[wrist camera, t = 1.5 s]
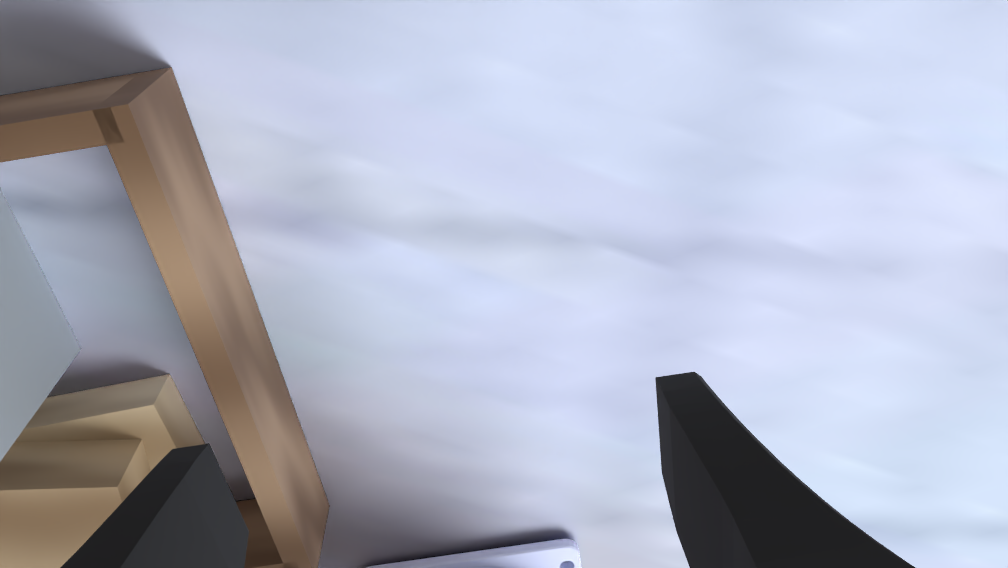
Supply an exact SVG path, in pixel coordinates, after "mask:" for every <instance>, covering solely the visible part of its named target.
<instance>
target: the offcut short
mask: <svg viewBox="0 0 1008 568" xmlns="http://www.w3.org/2000/svg"><path fill="white" fill-rule="evenodd" d="M150 471H151V470H150V467H149V463H148V459H147V456H146V452H145V449H144V445H143V441H142V439H131V440H88V441H45V442H14V443H13V445H12V446H11V447H10V449H9V450H8V452H7V453H6V454H5V456H4V457H3V459H2V460H1V461H0V568H60V567H61V566H62V565H63V564H64V563H65V562H66V561H67V560H68V559H69V558H70V557H71V556H72V555H73V554H74V553H75V552H76V551H77V550H78V549H79V548H80V547H81V546H82V545H83V544H84V543H85V542H86V541H87V540H88V539H89V538H90V536H91V535H92V534H93V533H94V532H95V531H96V530H97V529H98V528H99V527H100V526H101V525H102V524H103V522H104V521H105V520H106V519H107V518H108V517H109V516H110V515H111V514H112V513H113V512H114V511H115V510H116V508H117V507H118V506H119V505H120V504H121V503H122V502H123V501H124V500H125V499H126V498H127V496H128V495H129V494H130V493H131V492H132V491H133V490H134V489H135V488H136V487H137V485H138V484H139V483H140V482H141V481H142V480H143V479H144V478H145V477H146V476H147V475H148V473H149V472H150Z"/></svg>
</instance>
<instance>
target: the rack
mask: <svg viewBox="0 0 1008 568" xmlns="http://www.w3.org/2000/svg"><path fill="white" fill-rule="evenodd" d="M103 145H107V146H108V149H109V151H110V153H111V156H112V158H113V161H114V163H115V165H116V168H117V170H118V172H119V175H120V177H121V180H122V182H123V184H124V187H125V189H126V191H127V194H128V196H129V199H130V201H131V203H132V206H133V208H134V210H135V213H136V215H137V218H138V220H139V222H140V225H141V227H142V229H143V232H144V234H145V237H146V239H147V241H148V244H149V246H150V248H151V251H152V253H153V256H154V258H155V260H156V263H157V265H158V267H159V270H160V272H161V275H162V277H163V279H164V282H165V284H166V286H167V289H168V291H169V294H170V296H171V298H172V301H173V303H174V305H175V308H176V310H177V313H178V315H179V317H180V320H181V322H182V324H183V327H184V329H185V331H186V334H187V336H188V339H189V341H190V343H191V346H192V348H193V350H194V353H195V355H196V358H197V360H198V362H199V365H200V367H201V369H202V372H203V374H204V377H205V379H206V381H207V384H208V386H209V388H210V391H211V393H212V396H213V398H214V400H215V403H216V405H217V407H218V410H219V412H220V415H221V417H222V419H223V422H224V424H225V426H226V429H227V431H228V434H229V436H230V438H231V441H232V443H233V445H234V448H235V450H236V453H237V455H238V457H239V460H240V462H241V464H242V467H243V469H244V472H245V474H246V476H247V479H248V481H249V483H250V486H251V488H252V491H253V493H254V495H255V498H256V499H252V500H245V501H238V502H236V504H237V506H238V508H239V511H240V513H241V515H242V517H243V519H244V521H245V524H246V526H247V528H248V530H249V536H248V543H247V551H246V559H245V566H244V568H318V563H319V558H320V553H321V548H322V543H323V538H324V532H325V527H326V522H327V517H328V512H329V507H330V506H329V503H328V500H327V497H326V495H325V492H324V489H323V486H322V483H321V481H320V478H319V475H318V472H317V470H316V467H315V464H314V461H313V459H312V456H311V453H310V450H309V447H308V445H307V442H306V439H305V436H304V434H303V431H302V428H301V425H300V422H299V420H298V417H297V414H296V411H295V409H294V406H293V403H292V400H291V397H290V395H289V392H288V389H287V386H286V384H285V381H284V378H283V375H282V372H281V370H280V367H279V364H278V361H277V359H276V356H275V353H274V350H273V348H272V345H271V342H270V339H269V336H268V334H267V331H266V328H265V325H264V323H263V320H262V317H261V314H260V311H259V309H258V306H257V303H256V300H255V298H254V295H253V292H252V289H251V286H250V284H249V281H248V278H247V275H246V273H245V270H244V267H243V264H242V261H241V259H240V256H239V253H238V250H237V248H236V245H235V242H234V239H233V237H232V234H231V231H230V228H229V225H228V223H227V220H226V217H225V214H224V212H223V209H222V206H221V203H220V200H219V198H218V195H217V192H216V189H215V187H214V184H213V181H212V178H211V175H210V173H209V170H208V167H207V164H206V162H205V159H204V156H203V153H202V150H201V148H200V145H199V142H198V139H197V137H196V134H195V131H194V128H193V126H192V123H191V120H190V117H189V114H188V112H187V109H186V106H185V103H184V101H183V98H182V95H181V92H180V89H179V87H178V84H177V81H176V78H175V76H174V73H173V70H172V67H170V68H164V69H158V70H152V71H146V72H140V73H134V74H128V75H122V76H116V77H110V78H104V79H98V80H92V81H86V82H80V83H74V84H68V85H62V86H56V87H50V88H44V89H38V90H32V91H26V92H20V93H14V94H8V95H2V96H0V162H5V161H11V160H18V159H24V158H30V157H36V156H42V155H48V154H54V153H60V152H66V151H73V150H79V149H85V148H91V147H97V146H103Z"/></svg>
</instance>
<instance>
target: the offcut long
mask: <svg viewBox="0 0 1008 568" xmlns="http://www.w3.org/2000/svg"><path fill="white" fill-rule="evenodd" d="M131 439H142V441H143V445H144V449H145V452H146V456H147V459H148V463H149V467H150V470H152V469H153V468H154V467H155V466H156V465H157V464H158V463H159V462H160V461H161V460H162V459H163V458H164V457H165V456H166V455H167V454H168V453H169V452H170V451H171V450H172V449H175V448H182V447H189V446H196V445H202V444H205V443H204V441H203V439H202V437H201V435H200V433H199V431H198V429H197V427H196V425H195V423H194V421H193V419H192V417H191V415H190V413H189V411H188V409H187V407H186V405H185V403H184V401H183V399H182V397H181V395H180V393H179V391H178V390H177V388H176V386H175V384H174V382H173V380H172V378H171V376H170V374H167V375H162V376H156V377H151V378H146V379H141V380H136V381H130V382H125V383H120V384H115V385H110V386H104V387H99V388H94V389H89V390H84V391H78V392H73V393H68V394H63V395H57V396H52V397H47V398H46V399H45V400H44V402H43V403H42V404H41V406H40V407H39V409H38V410H37V411H36V413H35V414H34V416H33V417H32V418H31V420H30V421H29V422H28V424H27V425H26V427H25V428H24V429H23V431H22V432H21V434H20V435H19V436H18V438H17V439H16V441H15V442H45V441H88V440H131Z"/></svg>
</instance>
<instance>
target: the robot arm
mask: <svg viewBox="0 0 1008 568" xmlns="http://www.w3.org/2000/svg"><path fill="white" fill-rule="evenodd" d="M656 392H657V407H658V421H659V436H660V451H661V466H662V475H663V479H664V483H665V487H666V491H667V495H668V499H669V503H670V507H671V511H672V515H673V519H674V523H675V527H676V531H677V534H678V536H679V539H680V542H681V545H682V547H683V550H684V553H685V556H686V558H687V561H688V564H689V566H690V568H915V567H914V566H912V565H910V564H909V563H907V562H906V561H905V560H903V559H902V558H900V557H899V556H897V555H896V554H894V553H893V552H892V551H890V550H889V549H887V548H886V547H884V546H883V545H881V544H880V543H879V542H877V541H876V540H874V539H873V538H872V537H870V536H869V535H868V534H866V533H865V532H864V531H862V530H861V529H860V528H858V527H857V526H856V525H854V524H853V523H852V522H850V521H849V520H848V519H846V518H845V517H844V516H843V515H841V514H840V513H839V512H838V511H836V510H835V509H834V508H833V507H831V506H830V505H829V504H828V503H827V502H825V501H824V500H823V499H822V498H821V497H819V496H818V495H817V494H816V493H815V492H814V491H812V490H811V489H810V488H809V487H808V486H807V485H806V484H804V483H803V482H802V481H801V480H800V479H799V478H798V477H796V476H795V475H794V474H793V473H792V472H791V471H790V470H789V469H788V468H787V467H786V466H784V465H783V464H782V463H781V462H780V461H779V460H778V459H777V458H776V457H775V456H774V455H773V454H772V453H771V452H770V451H769V450H768V449H767V448H766V447H765V446H764V445H763V444H762V443H761V442H760V441H759V440H758V439H757V438H756V437H755V436H754V435H753V434H752V433H751V432H750V431H749V430H748V429H747V428H746V427H745V426H744V425H743V424H742V423H741V422H740V421H739V420H738V419H737V417H736V416H735V415H734V414H733V413H732V412H731V411H730V410H729V409H728V408H727V407H726V405H725V404H724V403H723V402H722V401H721V400H720V399H719V397H718V396H717V395H716V394H715V393H714V392H713V390H712V389H711V388H710V387H709V386H708V384H707V383H706V382H705V381H704V379H703V378H702V377H701V376H700V375H698V374H697V373H695V372H690V373H683V374H676V375H669V376H663V377H656ZM248 536H249V530H248V528H247V526H246V524H245V521H244V519H243V517H242V515H241V513H240V511H239V508H238V506H237V504H236V502H235V500H234V497H233V495H232V493H231V491H230V489H229V486H228V484H227V482H226V480H225V478H224V475H223V473H222V471H221V469H220V467H219V464H218V462H217V460H216V458H215V456H214V453H213V451H212V449H211V447H210V445H209V444H202V445H196V446H189V447H182V448H175V449H172V450H171V451H170V452H169V453H168V454H167V455H166V456H165V457H164V458H163V459H162V460H161V461H160V462H159V463H158V464H157V465H156V466H155V467H154V468H153V469H152V470H151V471H150V472H149V473H148V475H147V476H146V477H145V478H144V479H143V480H142V481H141V482H140V483H139V484H138V485H137V487H136V488H135V489H134V490H133V491H132V492H131V493H130V494H129V495H128V496H127V498H126V499H125V500H124V501H123V502H122V503H121V504H120V505H119V506H118V507H117V508H116V510H115V511H114V512H113V513H112V514H111V515H110V516H109V517H108V518H107V519H106V520H105V521H104V522H103V524H102V525H101V526H100V527H99V528H98V529H97V530H96V531H95V532H94V533H93V534H92V535H91V536H90V538H89V539H88V540H87V541H86V542H85V543H84V544H83V545H82V546H81V547H80V548H79V549H78V550H77V551H76V552H75V553H74V554H73V555H72V556H71V557H70V558H69V559H68V560H67V561H66V562H65V563H64V564H63V565H62V566H61V567H60V568H244V566H245V559H246V551H247V543H248ZM564 561H569V562H564ZM365 568H582V567H581V560H580V554H579V548H578V545H577V543H576V542H575V541H573V540H570V539H558V540H551V541H544V542H537V543H530V544H523V545H516V546H509V547H502V548H495V549H488V550H481V551H474V552H467V553H460V554H453V555H446V556H439V557H431V558H424V559H417V560H410V561H403V562H396V563H389V564H382V565H375V566H369V567H365Z"/></svg>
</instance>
